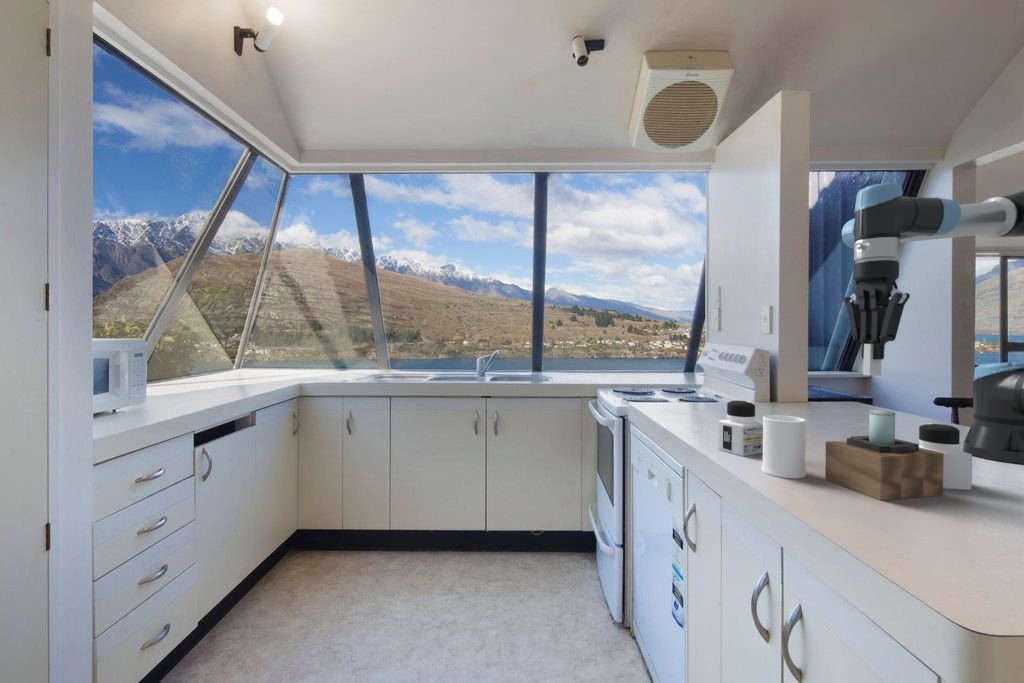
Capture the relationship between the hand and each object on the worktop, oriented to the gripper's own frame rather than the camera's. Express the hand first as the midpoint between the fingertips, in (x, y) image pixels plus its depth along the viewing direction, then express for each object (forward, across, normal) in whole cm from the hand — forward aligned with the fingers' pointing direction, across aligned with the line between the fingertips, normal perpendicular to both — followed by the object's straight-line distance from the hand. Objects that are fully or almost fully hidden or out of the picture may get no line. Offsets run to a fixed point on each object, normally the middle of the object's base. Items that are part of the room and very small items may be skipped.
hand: (871, 375), depth 97 cm
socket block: (+22, +5, -2) cm, 23 cm away
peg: (+16, +5, -2) cm, 17 cm away
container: (+22, -25, -12) cm, 36 cm away
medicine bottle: (+22, +5, +11) cm, 25 cm away
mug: (+22, -8, -13) cm, 27 cm away
